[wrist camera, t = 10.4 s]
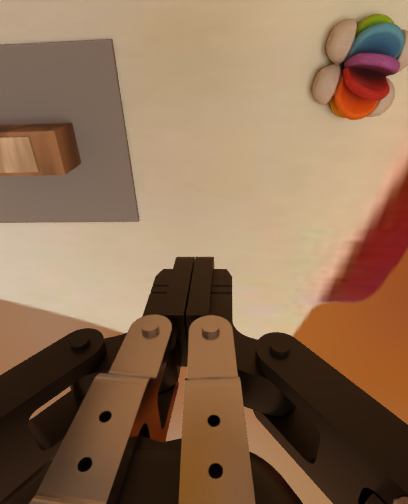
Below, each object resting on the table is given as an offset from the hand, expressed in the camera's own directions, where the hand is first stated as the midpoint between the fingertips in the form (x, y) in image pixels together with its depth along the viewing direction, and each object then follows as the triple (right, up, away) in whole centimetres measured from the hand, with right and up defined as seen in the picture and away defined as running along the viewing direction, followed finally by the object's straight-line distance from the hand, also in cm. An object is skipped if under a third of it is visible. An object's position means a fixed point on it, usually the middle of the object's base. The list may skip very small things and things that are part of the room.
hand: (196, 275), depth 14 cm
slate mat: (-20, +15, +30) cm, 39 cm away
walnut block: (-16, +13, +27) cm, 34 cm away
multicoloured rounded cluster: (+17, +21, +24) cm, 36 cm away
